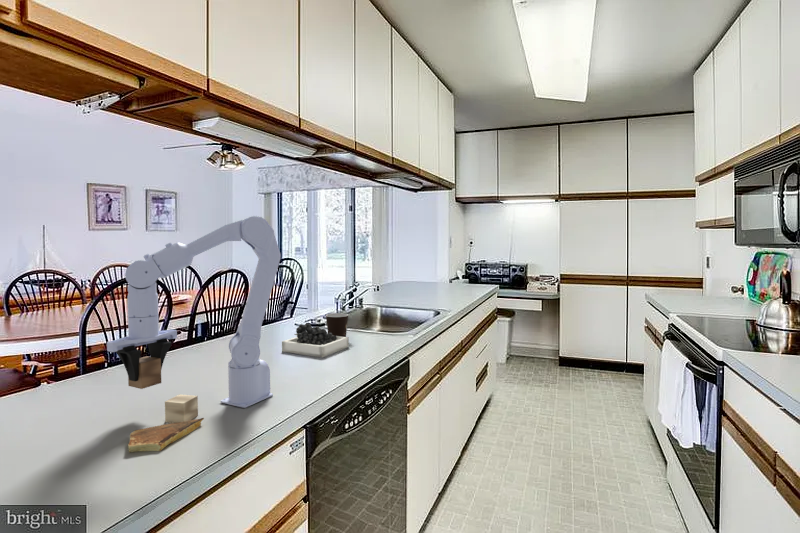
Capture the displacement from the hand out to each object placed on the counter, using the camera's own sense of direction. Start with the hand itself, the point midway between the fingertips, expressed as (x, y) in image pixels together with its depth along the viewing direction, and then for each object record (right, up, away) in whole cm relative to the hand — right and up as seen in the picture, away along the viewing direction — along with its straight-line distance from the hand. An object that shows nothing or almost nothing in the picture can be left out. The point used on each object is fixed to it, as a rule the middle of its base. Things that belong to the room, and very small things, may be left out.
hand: (145, 377), depth 95 cm
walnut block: (0, -2, 0) cm, 2 cm away
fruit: (+26, -5, +59) cm, 65 cm away
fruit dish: (+26, -5, +59) cm, 65 cm away
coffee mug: (+32, -5, +74) cm, 81 cm away
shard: (+9, -10, -10) cm, 17 cm away
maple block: (+9, -9, -2) cm, 12 cm away
